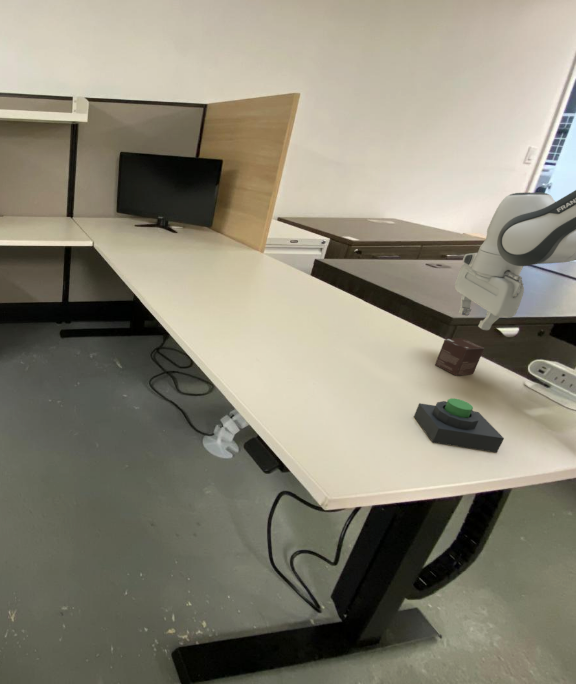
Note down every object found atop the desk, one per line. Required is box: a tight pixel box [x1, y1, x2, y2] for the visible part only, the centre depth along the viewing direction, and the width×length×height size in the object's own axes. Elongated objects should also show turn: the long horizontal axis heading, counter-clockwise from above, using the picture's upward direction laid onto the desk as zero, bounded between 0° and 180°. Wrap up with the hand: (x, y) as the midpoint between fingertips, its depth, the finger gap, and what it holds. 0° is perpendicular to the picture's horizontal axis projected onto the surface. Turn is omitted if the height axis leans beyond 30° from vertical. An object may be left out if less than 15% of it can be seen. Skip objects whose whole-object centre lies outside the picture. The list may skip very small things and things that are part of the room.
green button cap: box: [444, 397, 474, 418], centre depth 88 cm, size 4×4×2 cm
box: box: [435, 337, 485, 376], centre depth 116 cm, size 6×6×7 cm
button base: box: [413, 400, 505, 453], centre depth 89 cm, size 11×9×5 cm
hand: (472, 321), depth 112 cm, fingers open, 8 cm apart
